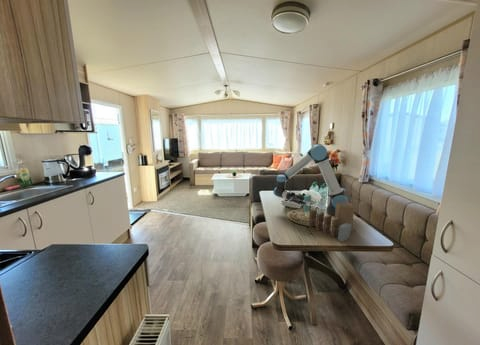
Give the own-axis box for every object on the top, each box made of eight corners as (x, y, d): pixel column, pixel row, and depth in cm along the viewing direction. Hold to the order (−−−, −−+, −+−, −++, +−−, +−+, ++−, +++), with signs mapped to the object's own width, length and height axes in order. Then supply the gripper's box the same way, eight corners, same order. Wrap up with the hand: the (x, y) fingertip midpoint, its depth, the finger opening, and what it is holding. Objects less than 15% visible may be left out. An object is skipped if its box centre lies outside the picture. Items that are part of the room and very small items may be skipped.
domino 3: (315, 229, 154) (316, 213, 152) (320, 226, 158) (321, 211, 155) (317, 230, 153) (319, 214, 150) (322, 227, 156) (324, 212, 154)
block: (351, 233, 148) (355, 207, 144) (336, 232, 150) (339, 205, 146) (347, 227, 157) (350, 202, 153) (333, 226, 159) (335, 201, 155)
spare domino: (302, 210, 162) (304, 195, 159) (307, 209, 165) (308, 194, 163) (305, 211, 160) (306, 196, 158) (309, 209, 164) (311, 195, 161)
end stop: (344, 236, 144) (346, 222, 142) (349, 237, 142) (350, 224, 140) (337, 239, 139) (339, 225, 137) (342, 241, 137) (343, 227, 135)
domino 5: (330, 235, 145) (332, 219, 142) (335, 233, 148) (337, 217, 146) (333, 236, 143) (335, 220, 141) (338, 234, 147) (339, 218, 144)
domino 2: (308, 226, 159) (309, 211, 157) (313, 224, 163) (314, 209, 160) (310, 227, 157) (312, 212, 155) (315, 225, 161) (316, 210, 159)
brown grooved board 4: (322, 232, 150) (324, 216, 147) (327, 230, 153) (329, 214, 151) (325, 233, 148) (327, 217, 146) (330, 231, 151) (331, 215, 149)
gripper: (296, 198, 182) (319, 205, 164) (280, 202, 171) (304, 211, 153) (296, 189, 180) (320, 196, 162) (281, 193, 169) (305, 201, 151)
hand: (312, 203), depth 157 cm, fingers closed on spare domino, 6 cm apart
